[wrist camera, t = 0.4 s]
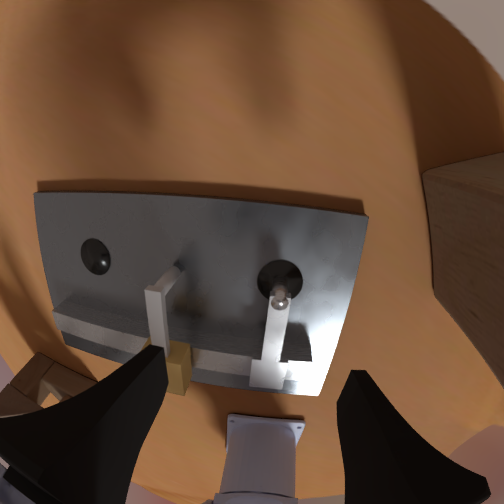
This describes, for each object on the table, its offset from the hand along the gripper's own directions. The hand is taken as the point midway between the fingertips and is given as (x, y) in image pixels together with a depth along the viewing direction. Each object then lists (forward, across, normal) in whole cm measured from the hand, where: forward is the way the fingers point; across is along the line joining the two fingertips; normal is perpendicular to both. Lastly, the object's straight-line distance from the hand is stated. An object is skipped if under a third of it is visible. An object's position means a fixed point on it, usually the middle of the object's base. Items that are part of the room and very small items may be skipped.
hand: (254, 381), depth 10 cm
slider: (+9, +6, +4) cm, 11 cm away
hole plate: (+10, +7, +3) cm, 12 cm away
